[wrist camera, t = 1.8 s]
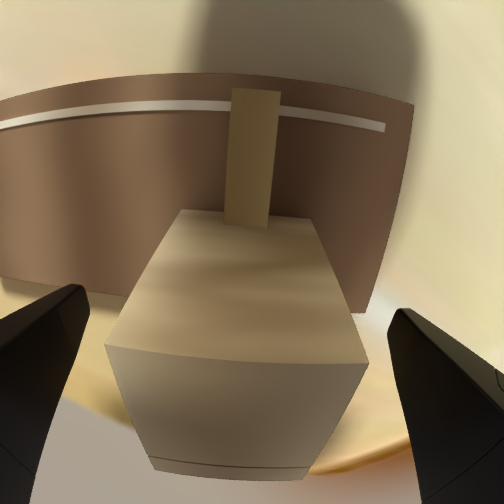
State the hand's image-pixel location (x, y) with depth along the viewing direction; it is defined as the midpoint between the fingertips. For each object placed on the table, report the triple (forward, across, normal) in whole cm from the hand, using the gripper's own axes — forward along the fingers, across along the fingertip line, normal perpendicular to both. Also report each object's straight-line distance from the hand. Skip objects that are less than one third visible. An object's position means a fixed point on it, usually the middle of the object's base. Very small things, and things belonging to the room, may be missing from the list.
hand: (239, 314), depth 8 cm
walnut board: (+5, +5, -2) cm, 8 cm away
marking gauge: (+5, 0, -1) cm, 5 cm away
